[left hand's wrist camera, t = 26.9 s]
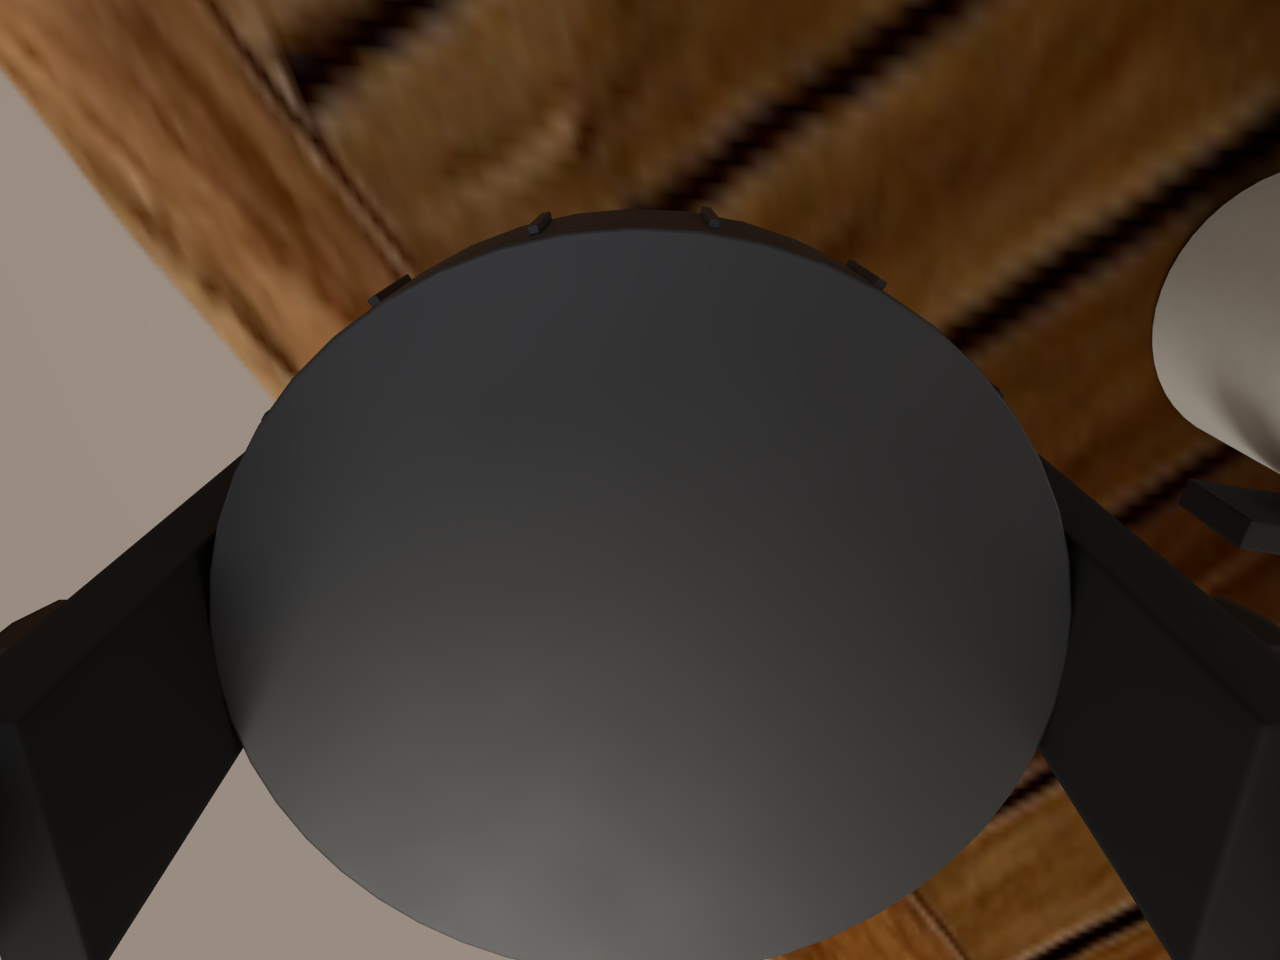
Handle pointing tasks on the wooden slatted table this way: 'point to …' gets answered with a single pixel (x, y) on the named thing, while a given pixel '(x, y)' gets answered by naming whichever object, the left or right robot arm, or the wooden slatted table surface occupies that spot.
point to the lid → (640, 594)
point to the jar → (1227, 325)
